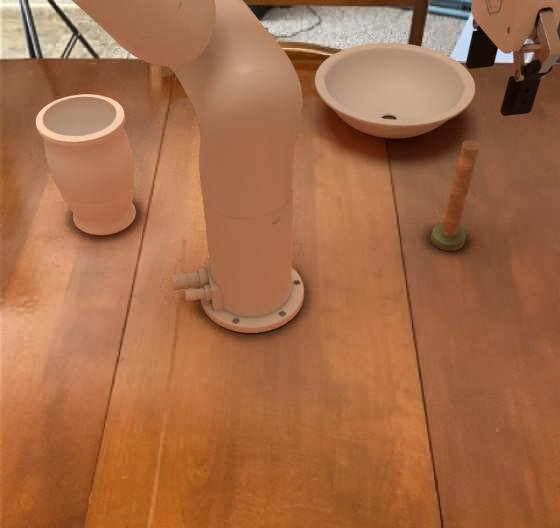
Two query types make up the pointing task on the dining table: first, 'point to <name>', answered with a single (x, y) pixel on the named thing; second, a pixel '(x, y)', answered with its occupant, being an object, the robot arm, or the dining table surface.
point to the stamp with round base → (457, 201)
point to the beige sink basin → (394, 88)
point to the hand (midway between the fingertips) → (496, 89)
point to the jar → (90, 160)
